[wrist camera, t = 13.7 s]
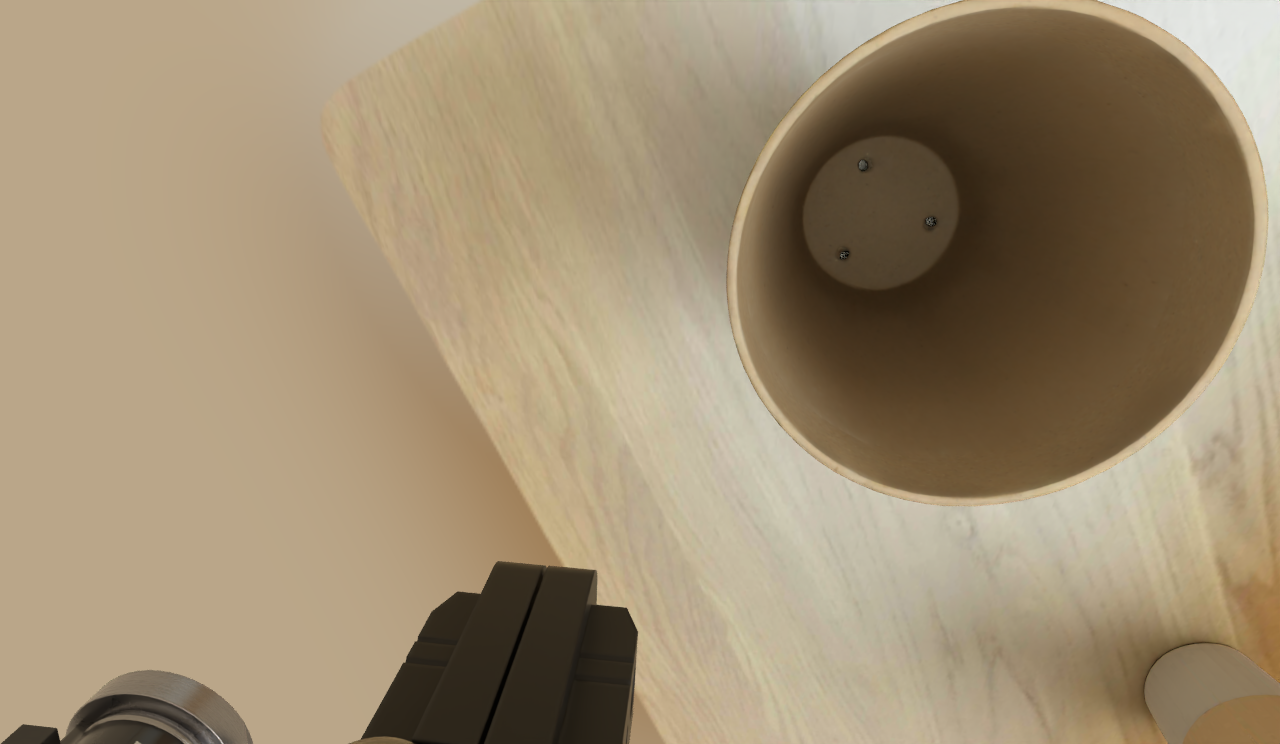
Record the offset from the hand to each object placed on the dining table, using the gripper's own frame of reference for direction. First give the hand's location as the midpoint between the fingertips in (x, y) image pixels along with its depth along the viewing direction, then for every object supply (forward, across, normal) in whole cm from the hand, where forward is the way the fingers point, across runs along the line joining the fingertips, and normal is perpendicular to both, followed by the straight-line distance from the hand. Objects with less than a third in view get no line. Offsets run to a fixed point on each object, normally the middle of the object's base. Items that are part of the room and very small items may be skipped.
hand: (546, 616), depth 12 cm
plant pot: (+29, -10, -3) cm, 31 cm away
